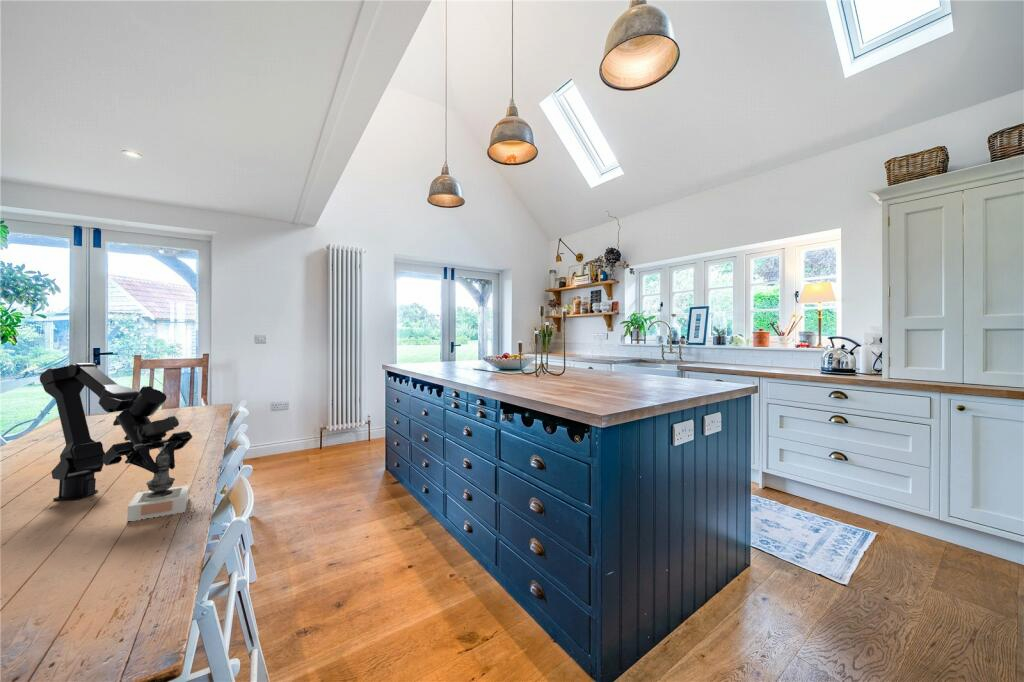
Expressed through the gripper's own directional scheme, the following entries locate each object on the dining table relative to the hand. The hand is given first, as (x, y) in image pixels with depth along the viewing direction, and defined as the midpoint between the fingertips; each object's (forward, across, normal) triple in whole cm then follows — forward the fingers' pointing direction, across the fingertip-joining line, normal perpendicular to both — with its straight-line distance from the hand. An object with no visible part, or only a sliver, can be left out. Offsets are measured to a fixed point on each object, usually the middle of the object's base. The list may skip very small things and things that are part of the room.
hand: (165, 470), depth 105 cm
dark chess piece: (+4, 0, +6) cm, 7 cm away
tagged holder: (+7, 0, +8) cm, 11 cm away
